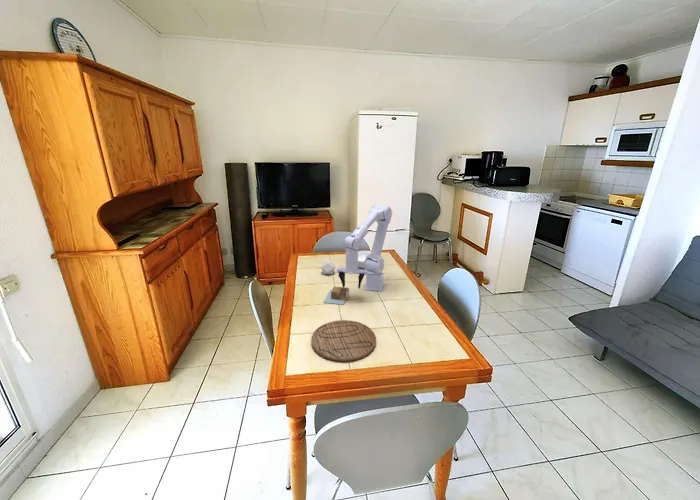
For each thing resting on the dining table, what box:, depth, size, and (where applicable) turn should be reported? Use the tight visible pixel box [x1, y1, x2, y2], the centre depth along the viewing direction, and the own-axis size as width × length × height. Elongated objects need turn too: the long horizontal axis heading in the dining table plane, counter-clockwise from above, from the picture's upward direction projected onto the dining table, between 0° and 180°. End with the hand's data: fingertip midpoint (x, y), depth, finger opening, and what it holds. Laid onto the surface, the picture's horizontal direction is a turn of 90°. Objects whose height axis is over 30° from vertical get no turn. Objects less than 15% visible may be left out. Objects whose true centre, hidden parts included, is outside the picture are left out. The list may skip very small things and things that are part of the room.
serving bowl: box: [358, 250, 383, 269], centre depth 192 cm, size 21×21×7 cm
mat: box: [323, 289, 347, 306], centre depth 151 cm, size 10×14×1 cm
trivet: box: [310, 319, 377, 363], centre depth 117 cm, size 25×25×2 cm
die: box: [320, 260, 336, 276], centre depth 179 cm, size 8×9×10 cm
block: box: [331, 286, 350, 301], centre depth 150 cm, size 4×6×8 cm
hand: (351, 287), depth 148 cm, fingers open, 7 cm apart
